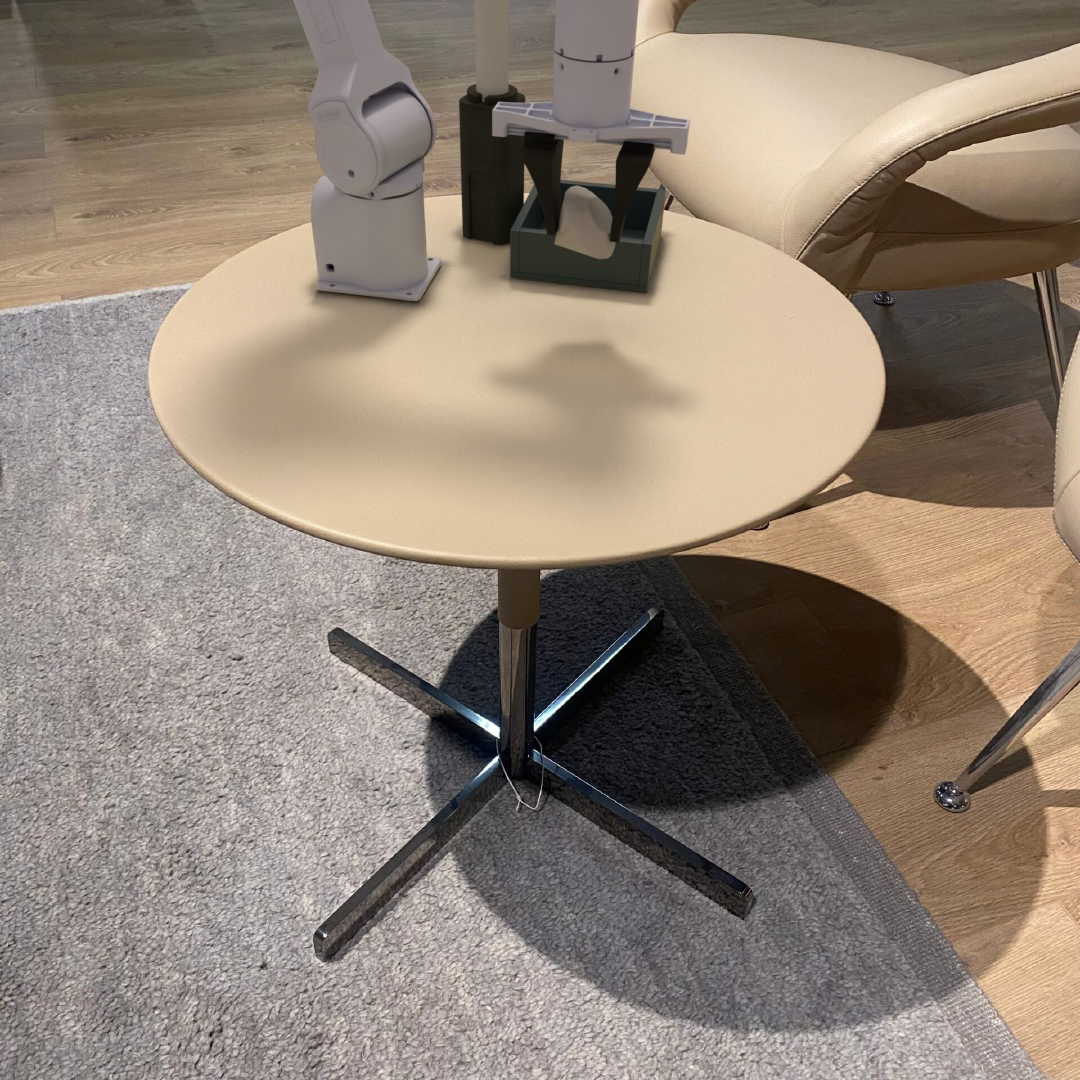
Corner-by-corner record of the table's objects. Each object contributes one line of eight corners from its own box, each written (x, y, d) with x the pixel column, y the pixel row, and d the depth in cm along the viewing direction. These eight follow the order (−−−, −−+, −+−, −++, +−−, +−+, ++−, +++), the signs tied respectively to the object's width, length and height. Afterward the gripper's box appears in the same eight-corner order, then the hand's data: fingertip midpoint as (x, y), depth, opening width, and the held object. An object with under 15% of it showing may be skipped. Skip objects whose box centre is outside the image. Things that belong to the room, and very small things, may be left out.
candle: (527, 227, 102) (532, -59, 85) (505, 247, 98) (505, -48, 82) (481, 217, 103) (477, -66, 87) (458, 236, 100) (449, -55, 83)
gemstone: (541, 194, 83) (587, 164, 80) (586, 251, 86) (633, 224, 83) (519, 235, 79) (567, 205, 76) (567, 294, 82) (615, 267, 79)
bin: (509, 278, 93) (510, 230, 90) (536, 222, 103) (537, 177, 100) (647, 293, 92) (651, 244, 89) (661, 235, 101) (665, 189, 98)
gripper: (481, 58, 70) (483, 244, 79) (691, 76, 68) (669, 265, 77) (504, 31, 75) (504, 208, 84) (700, 47, 73) (678, 227, 82)
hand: (584, 233), depth 81 cm, fingers closed on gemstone, 4 cm apart
